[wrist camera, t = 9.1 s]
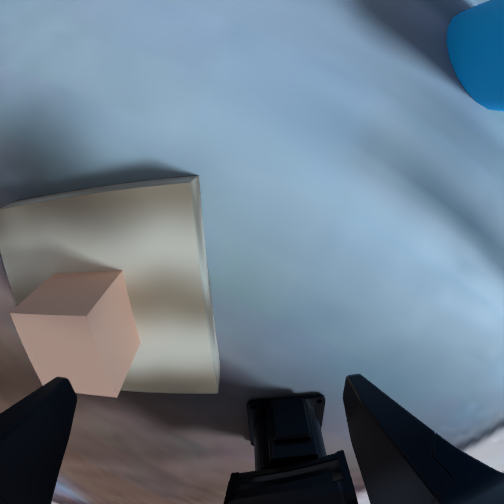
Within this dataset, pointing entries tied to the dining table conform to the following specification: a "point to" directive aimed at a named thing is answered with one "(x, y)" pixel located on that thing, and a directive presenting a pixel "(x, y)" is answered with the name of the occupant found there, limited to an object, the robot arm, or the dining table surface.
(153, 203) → the plinth
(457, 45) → the mug
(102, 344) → the cube
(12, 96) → the dining table surface
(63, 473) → the dining table surface
